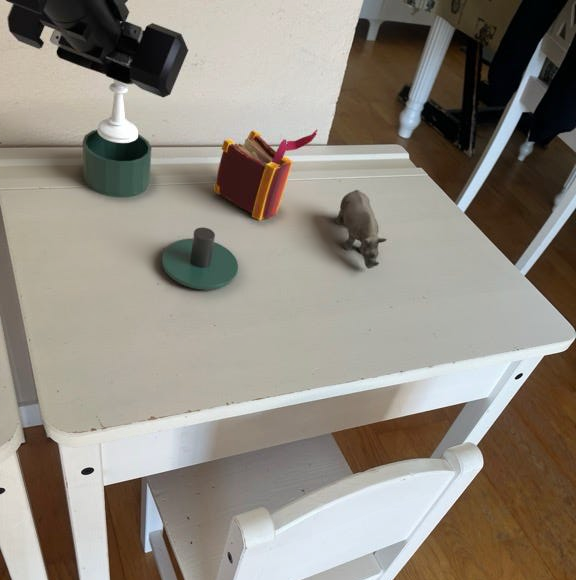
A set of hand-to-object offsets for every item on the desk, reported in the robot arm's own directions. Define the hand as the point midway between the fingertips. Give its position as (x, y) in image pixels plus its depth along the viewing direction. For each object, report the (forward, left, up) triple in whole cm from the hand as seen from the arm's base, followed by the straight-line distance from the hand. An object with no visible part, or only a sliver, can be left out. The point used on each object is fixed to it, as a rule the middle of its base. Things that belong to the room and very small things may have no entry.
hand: (124, 76), depth 74 cm
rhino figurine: (+28, +17, -13) cm, 36 cm away
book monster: (+13, +14, -13) cm, 23 cm away
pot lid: (+20, -4, -13) cm, 24 cm away
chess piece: (+1, -1, -7) cm, 7 cm away
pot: (0, -1, -13) cm, 13 cm away
